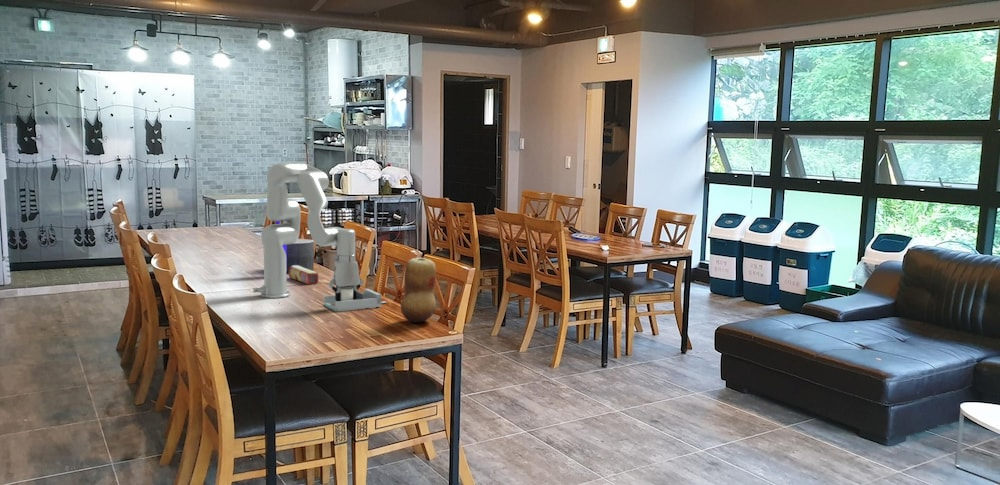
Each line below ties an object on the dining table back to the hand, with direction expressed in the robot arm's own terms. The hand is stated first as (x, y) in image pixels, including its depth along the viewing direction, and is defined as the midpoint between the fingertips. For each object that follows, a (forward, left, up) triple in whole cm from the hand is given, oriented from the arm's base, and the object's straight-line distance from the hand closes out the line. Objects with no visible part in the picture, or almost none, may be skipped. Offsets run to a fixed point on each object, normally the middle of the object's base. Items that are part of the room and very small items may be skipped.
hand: (345, 300), depth 321 cm
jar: (0, 0, -2) cm, 2 cm away
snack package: (+4, +64, -3) cm, 64 cm away
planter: (+10, +94, -3) cm, 95 cm away
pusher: (+12, 0, -3) cm, 12 cm away
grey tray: (+3, 0, -3) cm, 4 cm away
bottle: (-4, +80, -3) cm, 80 cm away
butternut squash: (+15, -37, -3) cm, 40 cm away
